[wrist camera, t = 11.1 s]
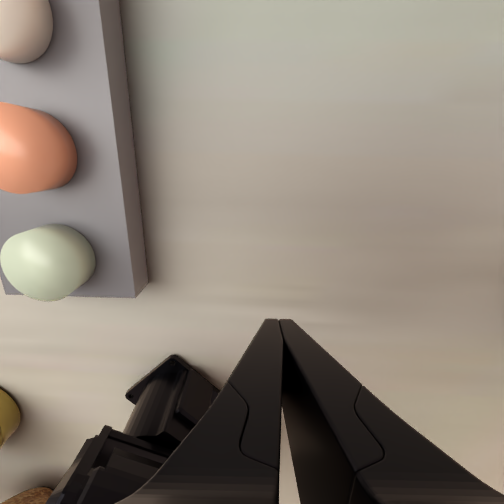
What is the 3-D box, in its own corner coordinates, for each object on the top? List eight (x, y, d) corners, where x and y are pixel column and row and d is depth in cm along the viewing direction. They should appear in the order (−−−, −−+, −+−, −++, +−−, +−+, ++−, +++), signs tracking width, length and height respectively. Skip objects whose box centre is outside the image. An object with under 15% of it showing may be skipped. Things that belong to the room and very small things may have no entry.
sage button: (100, 287, 19) (83, 302, 17) (35, 285, 19) (11, 300, 17) (89, 224, 17) (69, 233, 15) (19, 222, 17) (-10, 230, 15)
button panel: (148, 282, 21) (135, 297, 19) (33, 279, 21) (5, 294, 19) (116, -28, 15) (91, -62, 13) (-48, -34, 15) (-103, -70, 13)
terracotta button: (83, 190, 17) (61, 195, 15) (10, 188, 16) (-22, 192, 15) (69, 109, 15) (43, 103, 13) (-11, 107, 15) (-49, 100, 13)
